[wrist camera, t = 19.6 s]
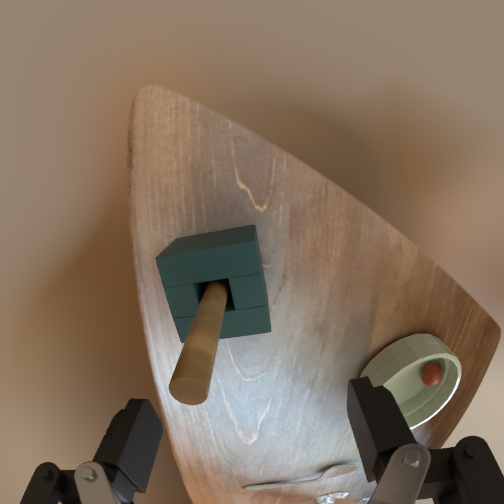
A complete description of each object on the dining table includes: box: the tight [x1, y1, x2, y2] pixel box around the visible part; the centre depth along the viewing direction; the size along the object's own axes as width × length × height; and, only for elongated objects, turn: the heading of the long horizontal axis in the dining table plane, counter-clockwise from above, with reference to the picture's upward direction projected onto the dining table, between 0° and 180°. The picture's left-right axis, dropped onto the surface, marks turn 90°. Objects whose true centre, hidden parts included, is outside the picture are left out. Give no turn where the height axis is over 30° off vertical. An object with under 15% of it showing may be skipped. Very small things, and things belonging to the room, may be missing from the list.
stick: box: [169, 278, 230, 405], centre depth 19 cm, size 2×2×16 cm
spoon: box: [244, 464, 358, 490], centre depth 37 cm, size 4×21×2 cm, turn 113°
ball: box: [421, 363, 442, 386], centre depth 28 cm, size 3×3×3 cm
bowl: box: [360, 334, 461, 430], centre depth 28 cm, size 13×13×5 cm
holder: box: [156, 225, 271, 343], centre depth 24 cm, size 7×7×6 cm
